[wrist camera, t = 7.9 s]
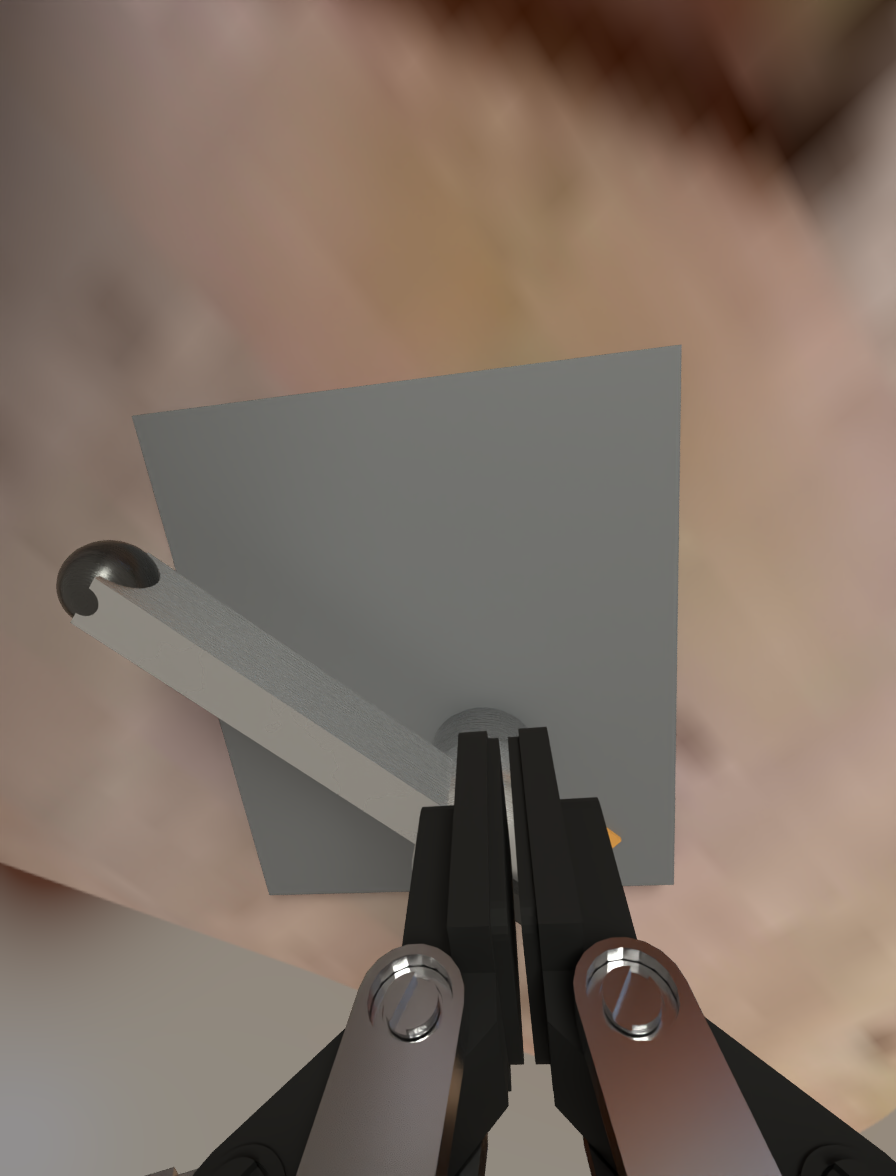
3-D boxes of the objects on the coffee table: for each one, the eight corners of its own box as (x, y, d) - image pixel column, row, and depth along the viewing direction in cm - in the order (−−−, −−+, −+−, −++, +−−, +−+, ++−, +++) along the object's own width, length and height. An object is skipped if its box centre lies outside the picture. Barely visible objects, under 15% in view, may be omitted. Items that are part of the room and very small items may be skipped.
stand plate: (152, 414, 25) (128, 416, 23) (669, 347, 22) (683, 343, 21) (279, 873, 33) (267, 898, 31) (665, 861, 31) (675, 888, 29)
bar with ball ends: (128, 569, 25) (-18, 641, 18) (178, 480, 24) (41, 519, 16) (555, 854, 28) (575, 1010, 21) (623, 792, 27) (669, 938, 20)
